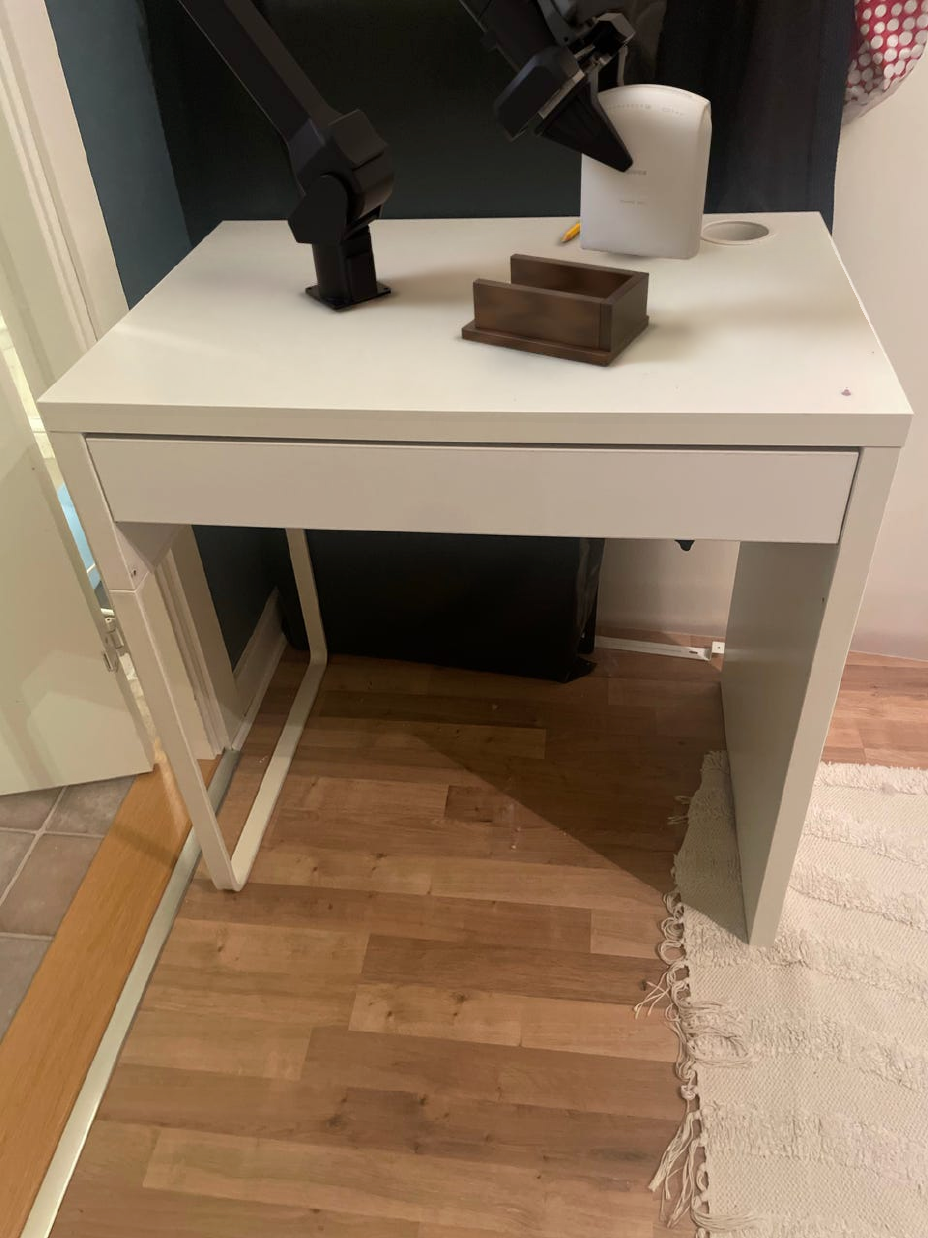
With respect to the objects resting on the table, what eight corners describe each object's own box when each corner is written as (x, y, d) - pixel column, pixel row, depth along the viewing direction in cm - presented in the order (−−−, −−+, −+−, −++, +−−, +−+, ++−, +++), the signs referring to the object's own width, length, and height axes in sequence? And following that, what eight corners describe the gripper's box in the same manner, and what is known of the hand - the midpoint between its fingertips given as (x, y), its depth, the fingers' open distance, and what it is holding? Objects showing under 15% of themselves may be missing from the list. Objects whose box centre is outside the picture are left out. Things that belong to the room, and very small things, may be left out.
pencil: (593, 221, 107) (593, 214, 107) (565, 245, 102) (565, 239, 101) (586, 220, 108) (586, 214, 107) (558, 245, 102) (558, 238, 101)
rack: (461, 338, 84) (458, 282, 81) (510, 302, 90) (509, 248, 87) (606, 366, 78) (608, 307, 75) (648, 326, 84) (652, 269, 81)
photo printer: (571, 252, 81) (576, 88, 73) (588, 235, 83) (595, 76, 75) (690, 266, 77) (710, 95, 69) (704, 248, 80) (724, 83, 72)
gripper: (536, -89, 60) (689, 113, 64) (617, -112, 73) (741, 58, 77) (431, 49, 68) (573, 223, 71) (521, 7, 81) (638, 156, 84)
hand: (636, 160), depth 76 cm, fingers closed on photo printer, 4 cm apart
